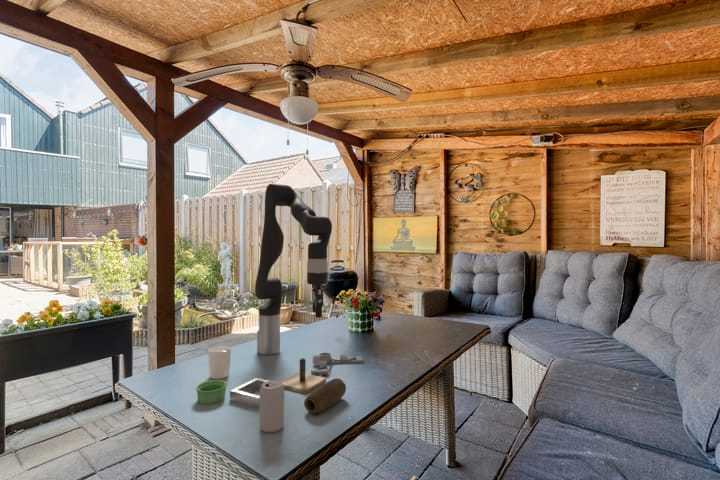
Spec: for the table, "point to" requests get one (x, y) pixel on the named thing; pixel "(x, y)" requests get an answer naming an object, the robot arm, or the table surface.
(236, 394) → the link
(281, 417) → the beverage can
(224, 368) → the white cup
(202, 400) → the ramekin
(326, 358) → the pulley system
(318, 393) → the brown cylinder
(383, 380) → the table surface
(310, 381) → the wooden board with peg
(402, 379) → the table surface
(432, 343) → the table surface
